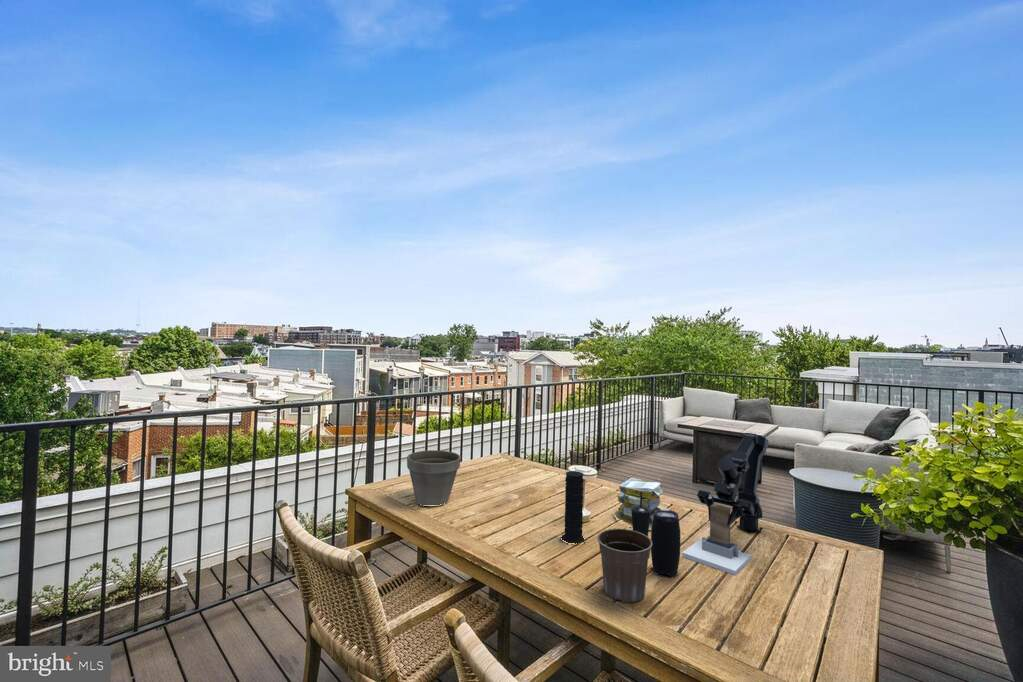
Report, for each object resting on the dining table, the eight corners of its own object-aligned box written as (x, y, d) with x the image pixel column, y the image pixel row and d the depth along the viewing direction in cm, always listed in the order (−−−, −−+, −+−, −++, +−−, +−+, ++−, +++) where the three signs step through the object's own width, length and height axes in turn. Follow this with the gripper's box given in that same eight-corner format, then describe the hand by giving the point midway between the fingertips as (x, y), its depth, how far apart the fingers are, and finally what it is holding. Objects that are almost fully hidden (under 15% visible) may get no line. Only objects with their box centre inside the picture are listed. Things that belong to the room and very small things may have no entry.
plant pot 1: (470, 500, 217) (471, 454, 217) (435, 516, 196) (436, 465, 196) (431, 490, 230) (432, 447, 230) (394, 504, 209) (395, 457, 209)
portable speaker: (645, 567, 154) (646, 509, 154) (667, 563, 157) (668, 506, 157) (662, 580, 146) (663, 519, 146) (685, 575, 149) (686, 515, 149)
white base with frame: (700, 543, 174) (700, 531, 174) (750, 559, 161) (751, 546, 161) (682, 556, 162) (682, 544, 162) (735, 575, 150) (735, 561, 150)
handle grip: (582, 547, 168) (589, 537, 177) (583, 476, 168) (590, 469, 178) (556, 542, 173) (565, 532, 182) (558, 472, 173) (566, 466, 182)
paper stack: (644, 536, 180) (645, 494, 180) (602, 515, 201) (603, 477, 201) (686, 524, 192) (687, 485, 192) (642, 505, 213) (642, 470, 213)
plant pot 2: (620, 613, 127) (621, 555, 128) (585, 585, 142) (586, 533, 142) (663, 599, 135) (664, 544, 135) (626, 574, 149) (626, 525, 149)
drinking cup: (651, 550, 167) (652, 495, 167) (630, 548, 169) (631, 494, 169) (649, 541, 175) (650, 489, 175) (629, 539, 176) (630, 487, 176)
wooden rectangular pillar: (712, 536, 167) (713, 504, 167) (730, 541, 163) (730, 508, 163) (708, 539, 164) (709, 506, 164) (726, 545, 160) (726, 511, 160)
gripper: (699, 468, 173) (686, 504, 166) (752, 479, 160) (741, 518, 153) (707, 484, 179) (695, 520, 171) (758, 496, 166) (748, 535, 158)
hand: (718, 523), depth 163 cm, fingers closed on wooden rectangular pillar, 6 cm apart
